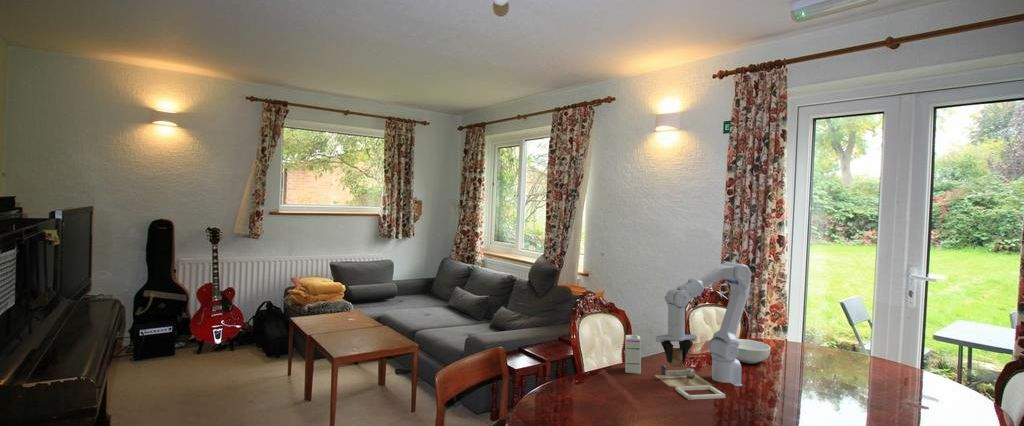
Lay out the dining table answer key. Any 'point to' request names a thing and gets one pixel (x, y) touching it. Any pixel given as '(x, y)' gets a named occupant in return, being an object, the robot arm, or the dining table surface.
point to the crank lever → (677, 372)
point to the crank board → (683, 381)
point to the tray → (707, 396)
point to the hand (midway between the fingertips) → (675, 361)
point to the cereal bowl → (752, 351)
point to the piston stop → (676, 357)
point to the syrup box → (632, 354)
